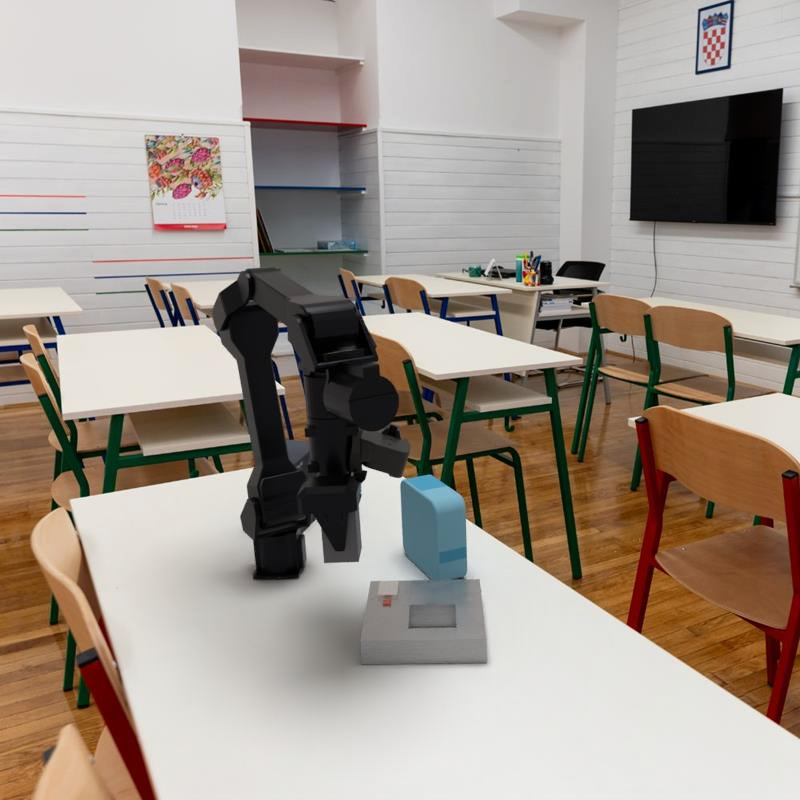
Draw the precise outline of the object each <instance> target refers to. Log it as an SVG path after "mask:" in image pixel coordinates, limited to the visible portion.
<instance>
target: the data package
mask: <svg viewBox="0 0 800 800" xmlns="http://www.w3.org/2000/svg"><path fill="white" fill-rule="evenodd" d="M399 487H400V508H401V509H400V510H401V511H400V512H401V530H402V547H403V550H404V554H405V556H406V557H407V558H408V559H409V560H410V561H411V562H412V563H413V564H414V565H415V566H416V567H417V568H418V569H420V570H421V572H422V573H423V574H424V575H425V576H427V577H428V578H429V580H458V579H460V578H464V577H465V576H467V574H468V549H467V548H468V547H467V543H468V541H467V540H468V539H467V509H466V503H465V500H464V497H463V496H462V495H461V494H460V493H459V492H457V491H455V490H454V489H453V488H451V487H450V486H448V485H447V484H445V483H444V482H442V481H441V480H440V479H438V478H437V477H435V476H434V475H432V474H426V475H425V474H423V475H420V476H415V477H409V478H404V479H402V480H401V482H400V486H399Z"/></svg>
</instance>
